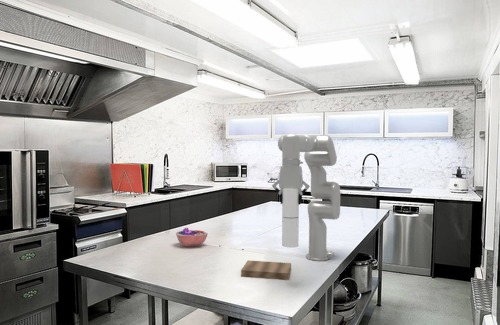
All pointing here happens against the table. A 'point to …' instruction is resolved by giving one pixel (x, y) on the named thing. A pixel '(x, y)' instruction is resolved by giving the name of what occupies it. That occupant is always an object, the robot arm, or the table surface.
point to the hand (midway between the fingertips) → (290, 203)
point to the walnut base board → (266, 270)
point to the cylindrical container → (290, 217)
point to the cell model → (191, 237)
